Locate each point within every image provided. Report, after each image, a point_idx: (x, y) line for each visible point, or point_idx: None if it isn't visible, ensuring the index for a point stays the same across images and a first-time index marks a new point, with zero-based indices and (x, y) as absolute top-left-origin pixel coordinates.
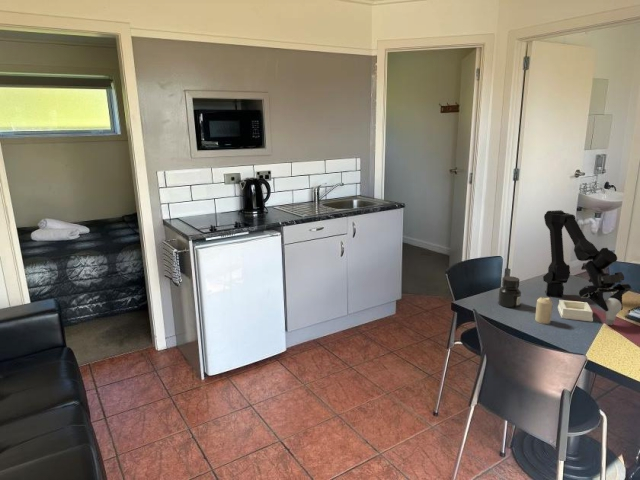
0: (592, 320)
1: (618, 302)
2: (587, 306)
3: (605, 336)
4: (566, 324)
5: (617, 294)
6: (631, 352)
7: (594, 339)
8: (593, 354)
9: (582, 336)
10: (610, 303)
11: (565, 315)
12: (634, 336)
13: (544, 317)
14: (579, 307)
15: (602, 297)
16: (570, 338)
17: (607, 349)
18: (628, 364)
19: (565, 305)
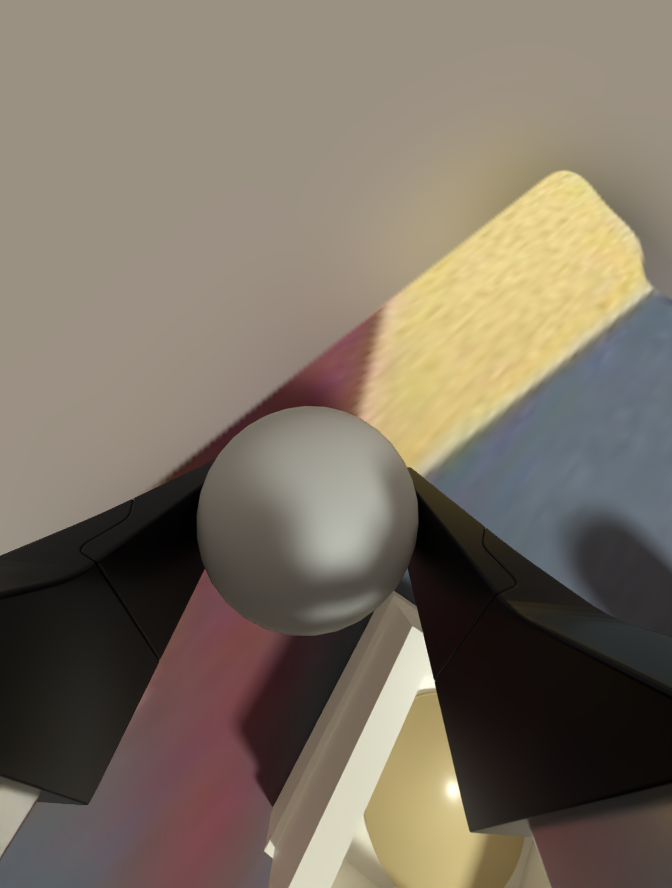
0: None
1: (295, 415)
2: (358, 795)
3: (458, 392)
4: (587, 589)
5: (33, 633)
6: (457, 259)
7: (535, 380)
8: (619, 281)
9: (576, 421)
10: (399, 459)
11: None
12: (316, 358)
13: None
14: (349, 878)
15: (520, 594)
16: (650, 418)
17: (537, 297)
18: (533, 207)
19: None
